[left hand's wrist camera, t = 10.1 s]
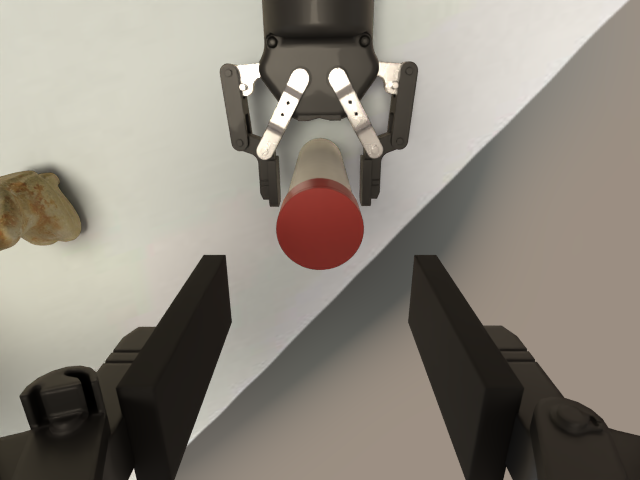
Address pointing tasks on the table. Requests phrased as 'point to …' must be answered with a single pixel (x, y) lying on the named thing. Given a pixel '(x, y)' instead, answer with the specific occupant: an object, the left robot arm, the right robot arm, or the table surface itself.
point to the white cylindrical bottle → (319, 163)
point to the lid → (320, 224)
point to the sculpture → (35, 210)
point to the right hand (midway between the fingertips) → (320, 203)
